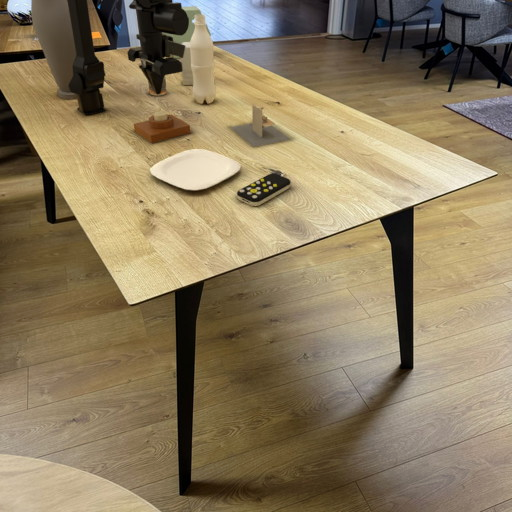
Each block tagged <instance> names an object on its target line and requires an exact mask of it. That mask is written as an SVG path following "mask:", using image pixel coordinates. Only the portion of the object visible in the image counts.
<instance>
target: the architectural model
mask: <svg viewBox="0 0 512 512" xmlns="http://www.w3.org/2000/svg"><path fill="white" fill-rule="evenodd" d="M251 108H252V109H251V110H252V114H251V115H252V119H251V120H252V121H251V123H245V124H240V125H235V126H230V129H231V130H233V132H235V133H236V134H238V136H240V137H241V138H242V139H243V140H245V142H247V143H248V144H249V145H251V146H252V147H253V148H257V147H260V146H261V147H262V146H265V145H270V144H276V143H280V142H285V141H289V140H291V138H290V137H289V136H288V135H286V134H284V133H283V132H282V131H280V130H279V129H278V128H276V127H275V126H276V123H275V122H274V121H272V120H270V119H269V118H268V116H266V115H265V114H264V113H263V110H264V108H265V106H260V107H258V106H257V105H255V104H254V103H252V107H251Z"/></svg>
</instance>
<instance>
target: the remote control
mask: <svg viewBox="0 0 512 512" xmlns="http://www.w3.org/2000/svg"><path fill="white" fill-rule="evenodd" d="M291 183H292V182H291V180H290V179H289V178H287V177H285V176H283V175H280V174H279V173H268V174H266V175H265V176H263V177H261V178H259V179H257V180H255V181H254V182H251V183H249V184H248V185H246V186H244V187H242V188H240V189H238V190H237V192H236V197H237V199H238V201H240V202H243V203H244V204H247V205H249V206H251V207H258V206H261V205H262V204H264V203H267V202H268V201H270V200H271V199H273V198H275V197H276V196H278V195H280V194H282V193H283V192H285V191H287V190H289V189H290V188H291Z"/></svg>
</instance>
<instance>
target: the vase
mask: <svg viewBox="0 0 512 512" xmlns="http://www.w3.org/2000/svg"><path fill="white" fill-rule="evenodd" d="M30 3H31V4H30V6H31V7H30V13H31V14H30V15H31V21H32V25H33V30H34V33H35V35H36V37H37V40H38V43H39V45H40V48H41V49H42V53H43V55H44V58H45V60H46V63H47V65H48V67H49V69H50V72H51V74H52V77H53V79H54V81H55V84H56V85H57V87H58V88H57V95H58V97H59V98H61V99H64V100H75V99H76V100H77V96H76V94H75V93H71V91H70V89H69V86H68V85H69V83H70V81H71V79H72V77H73V63H74V60H75V57H76V49H75V43H74V37H73V31H72V25H71V19H70V13H69V7H68V1H67V0H31V1H30Z"/></svg>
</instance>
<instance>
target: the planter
mask: <svg viewBox="0 0 512 512" xmlns="http://www.w3.org/2000/svg"><path fill="white" fill-rule="evenodd" d="M182 9H183V10H185V12H186V13H187V16H188V18H189V26H188V30H187V31H186V33H185V34H184V35H182V36H180V35H174V34H168V33H163V34H165V35H167V36H171V37H173V41H174V42H177V43H180V44H182V43H183V42H190V40H191V38H192V35H193V33H194V30H195V25H194V23H195V22H193V21H195V15H198V14H202V15H203V13H202V11H201V9H200V8H199V7H197V6H195V5H193V6H192V5H191V6H182ZM205 23H206V29H207V32H208V33H209V35H210V37H211V36H212V34H211V33H212V32H211V31H210V29H209V27H208V24H207V21H206V22H205ZM172 57H173V58H175V59H180V57H179V56H175V55H172Z"/></svg>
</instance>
